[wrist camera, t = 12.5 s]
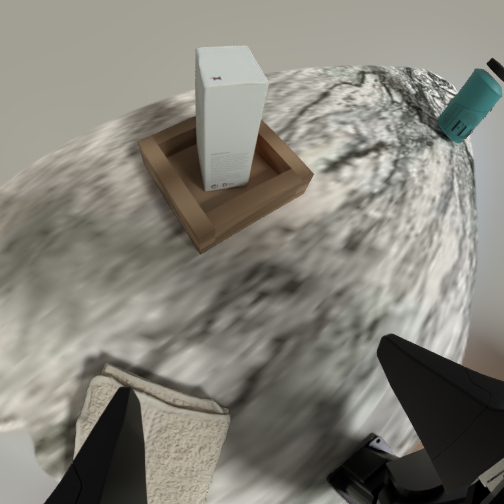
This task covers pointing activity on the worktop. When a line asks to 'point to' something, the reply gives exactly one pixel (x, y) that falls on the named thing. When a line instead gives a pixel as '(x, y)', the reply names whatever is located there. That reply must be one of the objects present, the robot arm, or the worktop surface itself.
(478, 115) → the beverage bottle
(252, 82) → the skincare box
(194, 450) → the washcloth
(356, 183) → the worktop surface
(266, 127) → the walnut holder
